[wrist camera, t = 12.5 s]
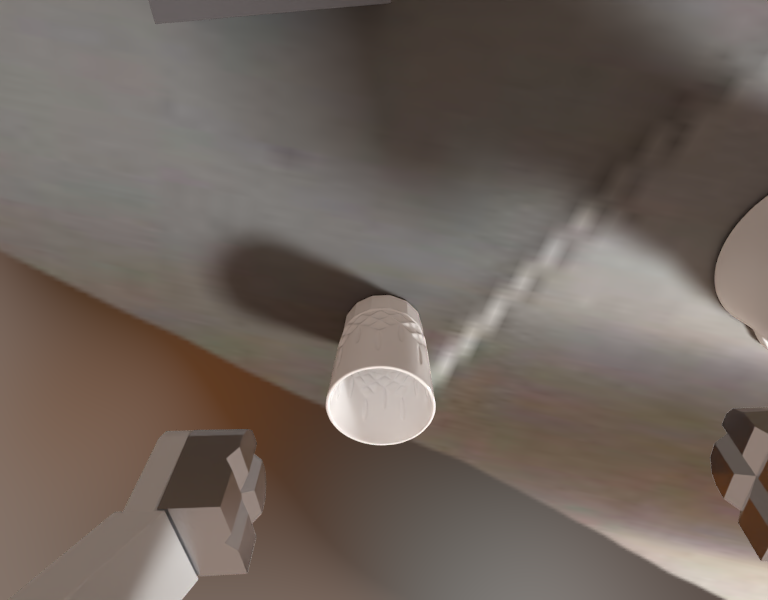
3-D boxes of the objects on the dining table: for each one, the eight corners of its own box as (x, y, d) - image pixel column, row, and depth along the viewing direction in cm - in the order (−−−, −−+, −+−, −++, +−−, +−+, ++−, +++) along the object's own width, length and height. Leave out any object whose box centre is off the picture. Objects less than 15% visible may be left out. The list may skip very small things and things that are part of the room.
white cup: (418, 366, 49) (422, 451, 41) (333, 354, 48) (320, 438, 40) (437, 295, 45) (446, 375, 36) (344, 281, 44) (332, 358, 36)
